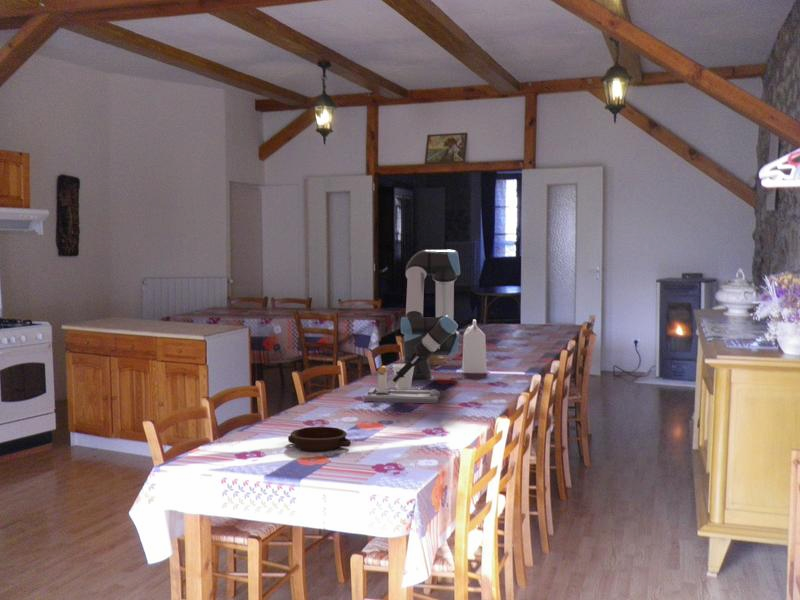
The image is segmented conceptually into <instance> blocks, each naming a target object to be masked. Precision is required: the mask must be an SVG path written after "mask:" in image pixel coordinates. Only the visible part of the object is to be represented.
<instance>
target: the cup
mask: <svg viewBox="0 0 800 600" xmlns="http://www.w3.org/2000/svg"><path fill="white" fill-rule="evenodd" d="M404 365H405V364H403V363H396V364H393V365H392V368H393V375H394V376H395V375H396V374H397V373H396V372H398V371H399V370H400V369H402V367H403V366H404ZM414 367H415V366H414ZM414 367H412V368H411V369H410V370H409V371H408V372H407V373H406V374H405V375H404V378H403V377H402V378H401V379H400V380H399V381H398V382H397V383H396V384H395V386H396V390H411V389H412V381H413V379H412V377H413V371H414Z"/></svg>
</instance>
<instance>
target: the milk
mask: <svg viewBox="0 0 800 600" xmlns="http://www.w3.org/2000/svg"><path fill="white" fill-rule="evenodd" d="M486 340H487V339H486V334H485V333H484V331H482V330H481V329H480V327H478V326H477V320H476V319H472V325H469V326H467V328H465V331H464V333H463V340H462V341H463V342H462V343H463V344H462V362H461V363H462V372H463V374H487V373H488V371H487V343H486Z"/></svg>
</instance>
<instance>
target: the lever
mask: <svg viewBox="0 0 800 600" xmlns="http://www.w3.org/2000/svg"><path fill="white" fill-rule="evenodd" d="M377 372H378V373H377V388H378V390H377V392H376V393H375V395H388V394H389V393H390V390H391V389H388V385H387V383H388V367H387V366H386V365H381V366H380V367H379V368H378V370H377Z"/></svg>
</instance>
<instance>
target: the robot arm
mask: <svg viewBox="0 0 800 600" xmlns="http://www.w3.org/2000/svg"><path fill="white" fill-rule="evenodd" d="M460 275H461V265H460V259H459V252H458V251H457V250H455V249H423V250H420V251H418V252H416V253H415V254H413V256H412V257H410V259H409V261H408V262H407V264H406V266H405V277H406V280H407V281H406V282H407V285H406V302H405V303H406V306H405V316H402V317H401V318H400V333H401V335H404V337H403V343H404V344H403V346H404V347H403V350H404V351H403V352H404V353H403V355H404V357H403V359H404V360H403V363H402V364H405V365H404V366H403V367H402V369H400V370H399V371H398V372H396V373H397V374H396V375H394V376H392V378H391V379H390V380H389V381H387V387H388V388H390V389H392V388H393V387H394V386H396V383H397V382H398V381H399V380H400V379H401V378H402V377H403V378H404V375H405V374H406V373H407V372H408V371H409V370H410V369H411V368H412V367H414V366H415V367H414V371H413V377H412V380H423V379H424V380H425V379H429V378H432V370H431V367H430V366H431V365H429V363H428V358H429V357H430V356H431V355H439V356H440V357H444V356H447V357H450V356H456V355H457V353H458V350H459V344H460V331H458V327H459V325H458V323H457V322H456V320H454V315H455V313H454V309H455V306H454V305H455V302H454V301H455V281H457V279H458V276H460ZM427 276H432V277H431V278H432V280H433V281H434V282H435V317H433V316H431V317H430V316H429V317H427V316H426V317H424V299H425V298H424V290H425V289H424V288H425V279H426V277H427Z"/></svg>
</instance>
